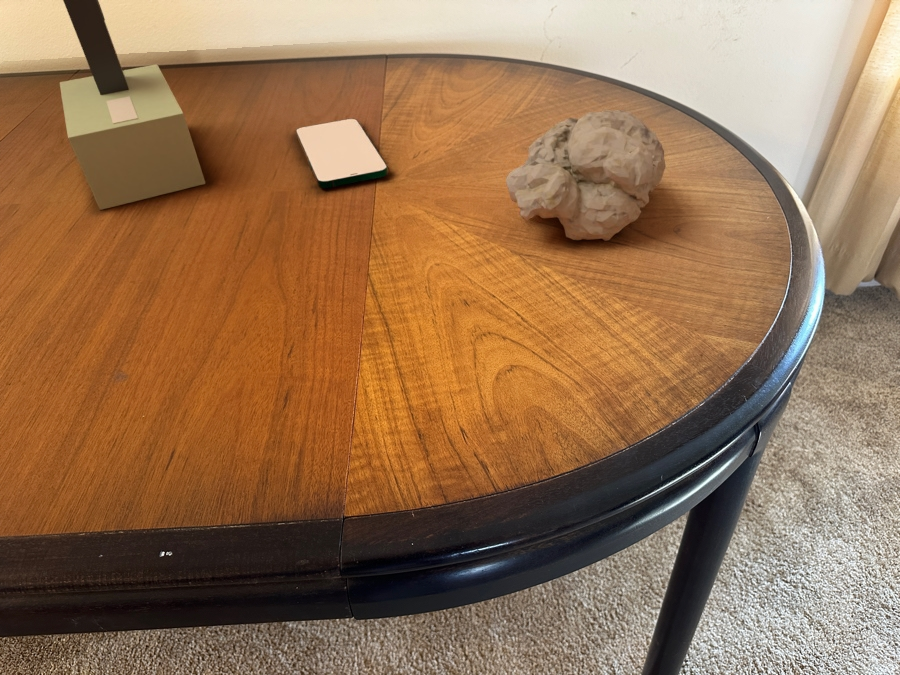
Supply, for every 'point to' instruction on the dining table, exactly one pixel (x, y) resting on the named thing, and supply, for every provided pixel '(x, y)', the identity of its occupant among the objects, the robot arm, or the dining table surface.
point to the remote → (97, 45)
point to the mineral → (590, 174)
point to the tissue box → (130, 138)
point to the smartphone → (340, 153)
